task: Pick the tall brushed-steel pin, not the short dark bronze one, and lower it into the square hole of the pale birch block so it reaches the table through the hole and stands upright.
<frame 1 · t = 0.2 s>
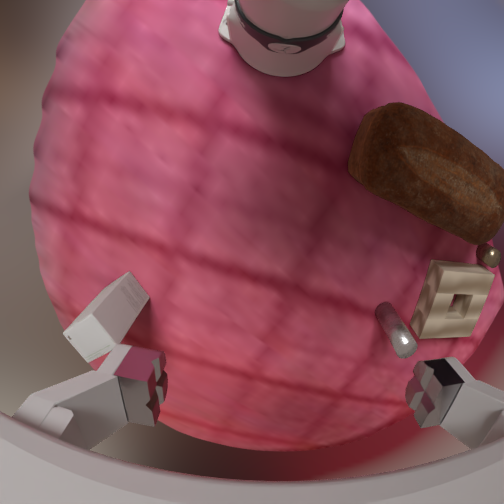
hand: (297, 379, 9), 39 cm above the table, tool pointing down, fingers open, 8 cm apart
birch block: (447, 294, 51), on the table
bread: (420, 171, 43), on the table
skincare box: (125, 291, 53), on the table
short bronze pin: (482, 250, 48), on the table
tall steel pin: (383, 310, 53), on the table
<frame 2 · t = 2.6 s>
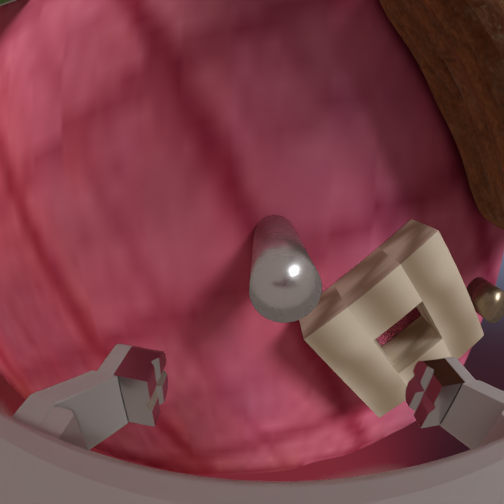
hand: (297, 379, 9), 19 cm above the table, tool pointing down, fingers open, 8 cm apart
birch block: (390, 314, 28), on the table
bread: (467, 89, 22), on the table
short bronze pin: (475, 291, 28), on the table
tall steel pin: (274, 235, 26), on the table
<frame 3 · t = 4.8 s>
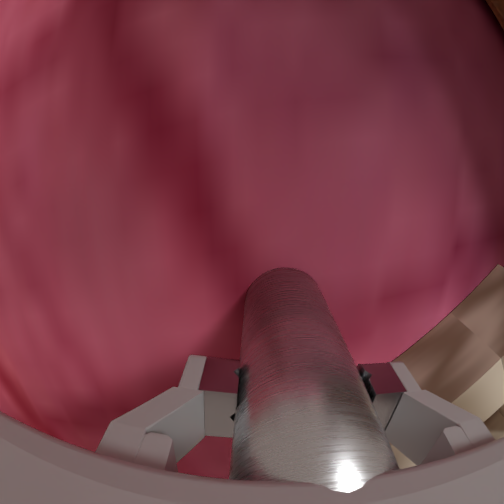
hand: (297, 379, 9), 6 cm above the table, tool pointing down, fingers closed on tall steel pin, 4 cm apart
birch block: (447, 399, 16), on the table
tall steel pin: (283, 304, 14), on the table, touching gripper
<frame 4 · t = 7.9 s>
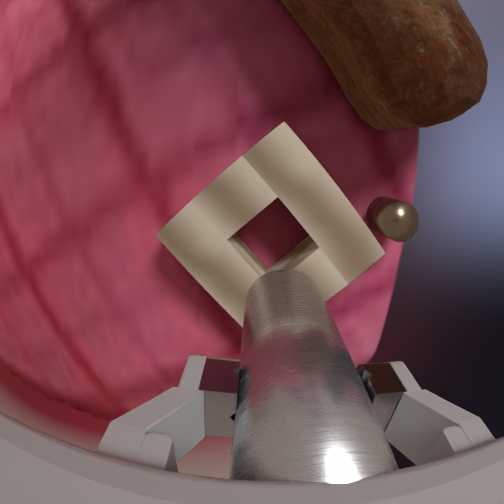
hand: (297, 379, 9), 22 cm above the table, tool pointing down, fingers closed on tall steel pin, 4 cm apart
birch block: (271, 231, 30), on the table
bread: (345, 14, 23), on the table
short bronze pin: (383, 214, 29), on the table
tall steel pin: (283, 305, 14), point 16 cm above the table, touching gripper
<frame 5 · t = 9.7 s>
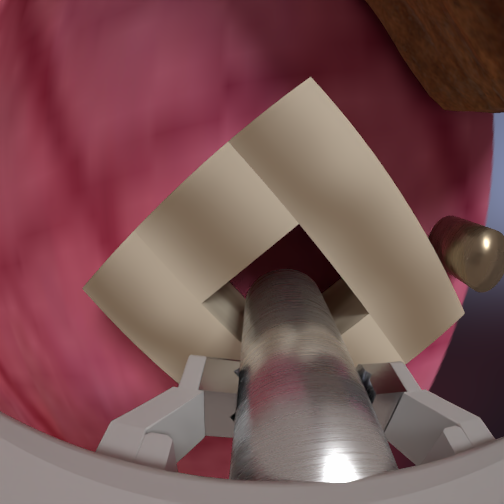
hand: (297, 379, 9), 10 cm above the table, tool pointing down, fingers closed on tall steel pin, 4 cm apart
birch block: (280, 272, 18), on the table
short bronze pin: (449, 242, 17), on the table
tall steel pin: (283, 305, 14), point 4 cm above the table, touching gripper
when the fingers open (7 cm above the table, at t = 11.2 s): tall steel pin drops 1 cm, resting in birch block.
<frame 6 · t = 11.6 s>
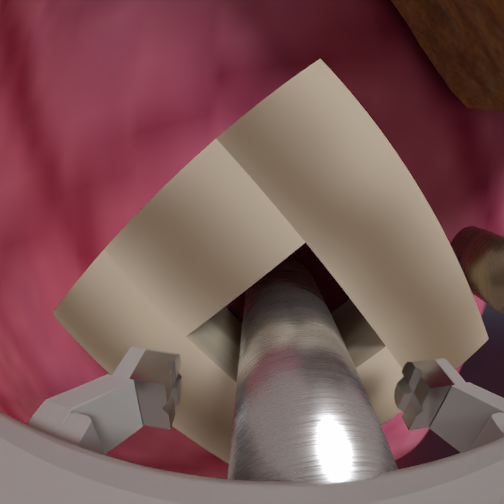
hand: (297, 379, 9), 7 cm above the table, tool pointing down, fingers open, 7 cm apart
birch block: (281, 292, 16), on the table
short bronze pin: (468, 255, 15), on the table
tall steel pin: (281, 292, 16), resting in birch block
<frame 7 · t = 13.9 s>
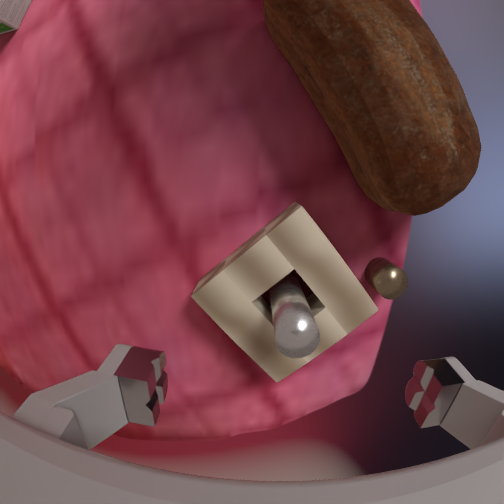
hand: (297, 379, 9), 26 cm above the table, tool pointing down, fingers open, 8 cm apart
birch block: (284, 287, 35), on the table
bread: (356, 88, 30), on the table
skincare box: (13, 17, 25), on the table
short bronze pin: (378, 271, 35), on the table
tall steel pin: (284, 287, 35), resting in birch block
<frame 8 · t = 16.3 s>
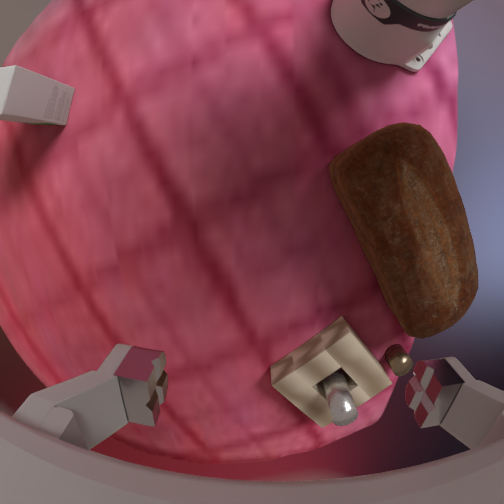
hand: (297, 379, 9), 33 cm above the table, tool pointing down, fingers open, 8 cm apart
birch block: (329, 367, 47), on the table
bread: (394, 226, 41), on the table
skincare box: (54, 105, 36), on the table
short bronze pin: (393, 352, 46), on the table
tall steel pin: (329, 367, 47), resting in birch block
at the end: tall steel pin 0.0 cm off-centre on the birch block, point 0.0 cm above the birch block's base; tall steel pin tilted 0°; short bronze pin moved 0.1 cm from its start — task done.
